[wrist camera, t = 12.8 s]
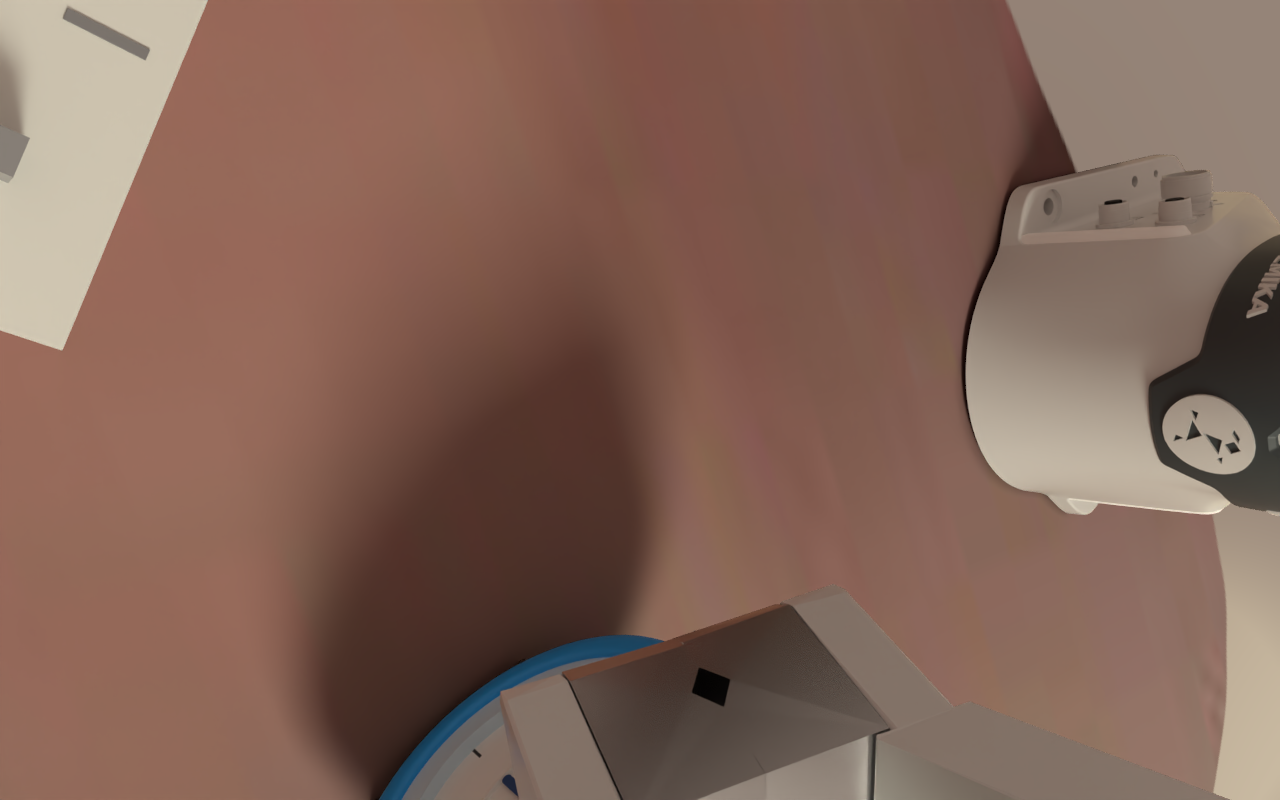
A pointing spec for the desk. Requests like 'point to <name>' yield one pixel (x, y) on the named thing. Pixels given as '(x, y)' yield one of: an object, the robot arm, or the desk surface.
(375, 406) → the desk surface
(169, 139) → the desk surface
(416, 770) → the alarm clock
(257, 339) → the desk surface
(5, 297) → the console
